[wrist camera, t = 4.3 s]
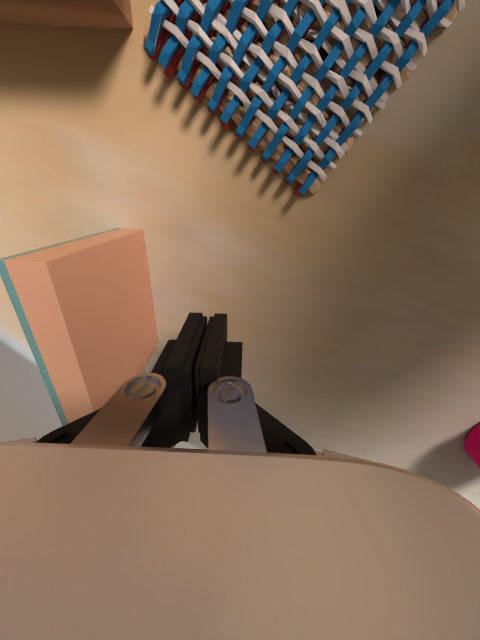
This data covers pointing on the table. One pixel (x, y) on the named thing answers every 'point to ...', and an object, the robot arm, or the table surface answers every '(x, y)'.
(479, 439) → the pepper mill
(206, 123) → the table surface
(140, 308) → the tile
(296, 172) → the woven mat
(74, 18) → the turner
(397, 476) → the robot arm
